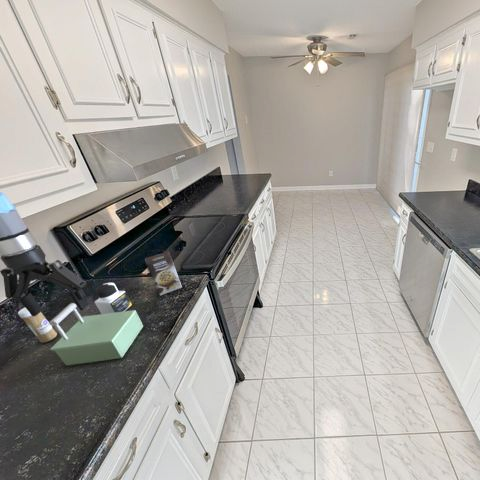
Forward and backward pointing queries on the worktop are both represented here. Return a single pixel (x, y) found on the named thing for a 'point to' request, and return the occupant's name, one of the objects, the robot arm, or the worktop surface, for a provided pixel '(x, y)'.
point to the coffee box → (163, 273)
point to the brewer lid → (90, 328)
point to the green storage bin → (103, 346)
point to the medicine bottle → (111, 299)
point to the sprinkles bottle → (38, 325)
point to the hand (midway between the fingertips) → (61, 310)
